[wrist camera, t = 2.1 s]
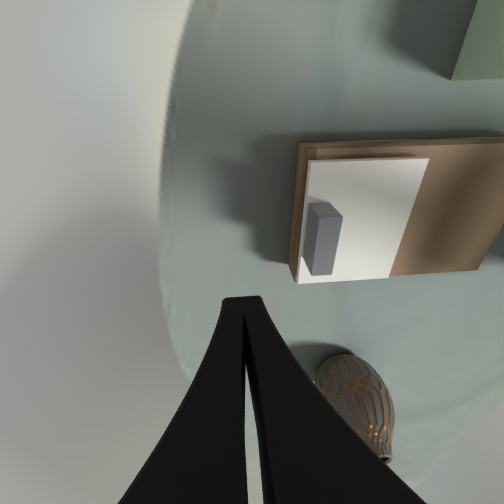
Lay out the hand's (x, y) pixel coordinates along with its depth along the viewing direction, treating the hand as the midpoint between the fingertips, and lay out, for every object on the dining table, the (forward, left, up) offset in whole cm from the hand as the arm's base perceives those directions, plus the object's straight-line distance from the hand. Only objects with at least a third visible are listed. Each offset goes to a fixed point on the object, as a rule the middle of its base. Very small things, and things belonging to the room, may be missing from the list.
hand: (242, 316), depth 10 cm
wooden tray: (-11, 0, -9) cm, 14 cm away
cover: (-7, 0, -7) cm, 10 cm away
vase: (-11, +18, -10) cm, 23 cm away
